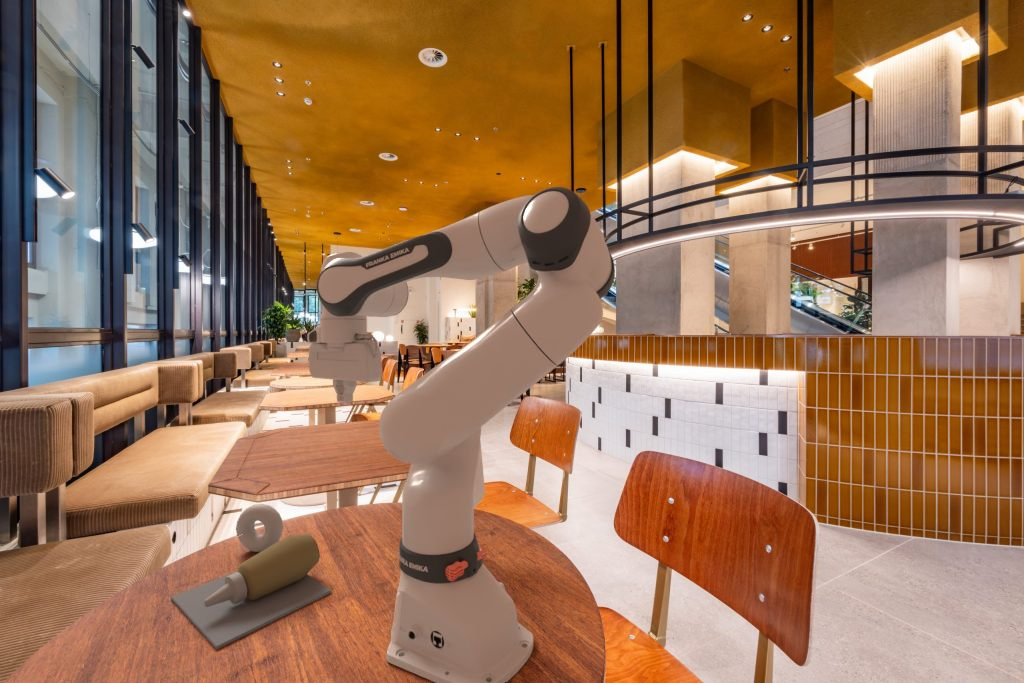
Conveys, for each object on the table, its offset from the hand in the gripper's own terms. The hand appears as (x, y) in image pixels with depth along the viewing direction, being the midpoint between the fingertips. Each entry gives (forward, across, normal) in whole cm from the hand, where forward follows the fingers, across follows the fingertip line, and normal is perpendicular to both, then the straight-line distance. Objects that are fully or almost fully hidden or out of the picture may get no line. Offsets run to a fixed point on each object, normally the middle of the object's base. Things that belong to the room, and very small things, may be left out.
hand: (344, 402), depth 89 cm
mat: (+32, +2, +17) cm, 36 cm away
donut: (+32, +18, +9) cm, 38 cm away
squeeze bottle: (+27, +1, +7) cm, 28 cm away
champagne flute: (+33, -19, -16) cm, 41 cm away
